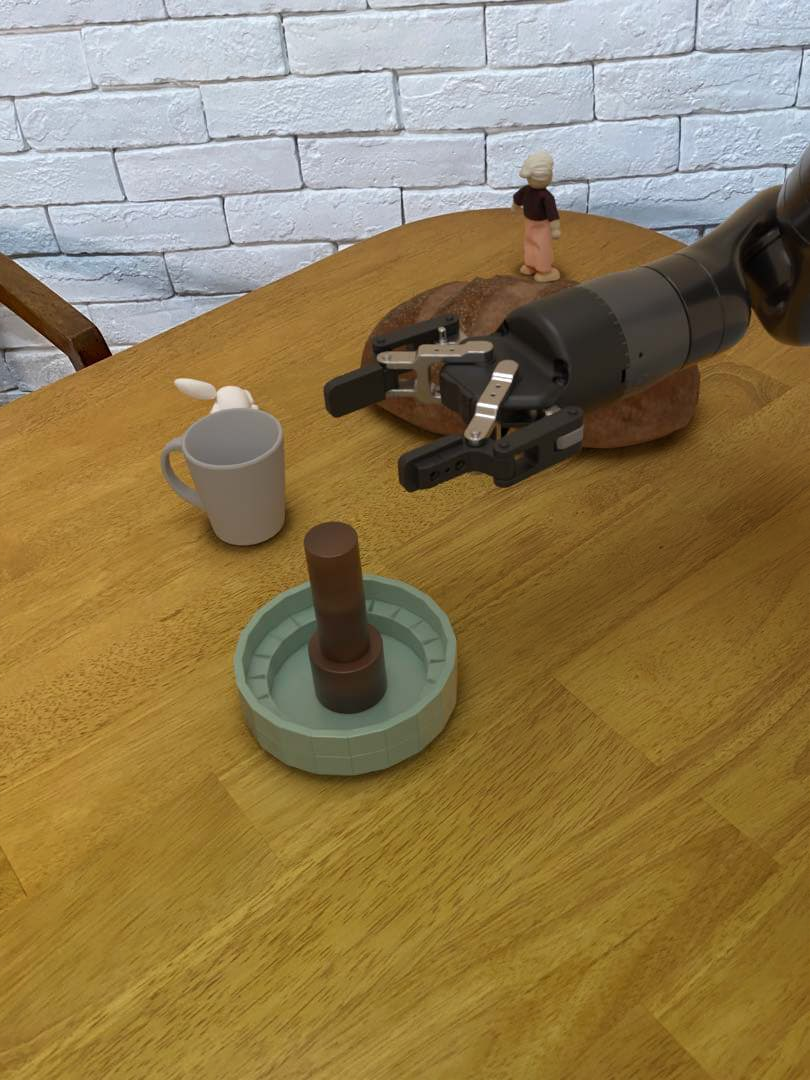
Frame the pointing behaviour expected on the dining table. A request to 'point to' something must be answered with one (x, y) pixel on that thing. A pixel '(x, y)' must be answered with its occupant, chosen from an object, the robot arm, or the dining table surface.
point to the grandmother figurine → (538, 217)
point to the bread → (482, 315)
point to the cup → (234, 473)
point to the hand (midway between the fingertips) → (362, 437)
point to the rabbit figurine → (216, 394)
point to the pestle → (342, 623)
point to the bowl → (361, 738)
